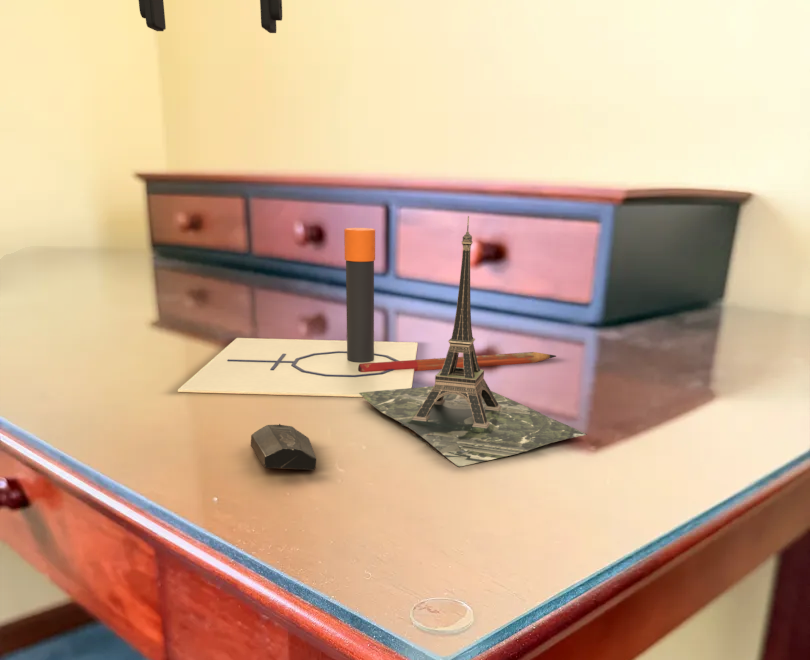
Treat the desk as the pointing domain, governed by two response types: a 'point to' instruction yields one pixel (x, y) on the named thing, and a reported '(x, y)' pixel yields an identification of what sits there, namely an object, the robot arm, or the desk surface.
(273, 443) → the block
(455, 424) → the eiffel tower figurine
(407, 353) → the paper
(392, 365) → the pencil
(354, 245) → the marker
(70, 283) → the desk surface
